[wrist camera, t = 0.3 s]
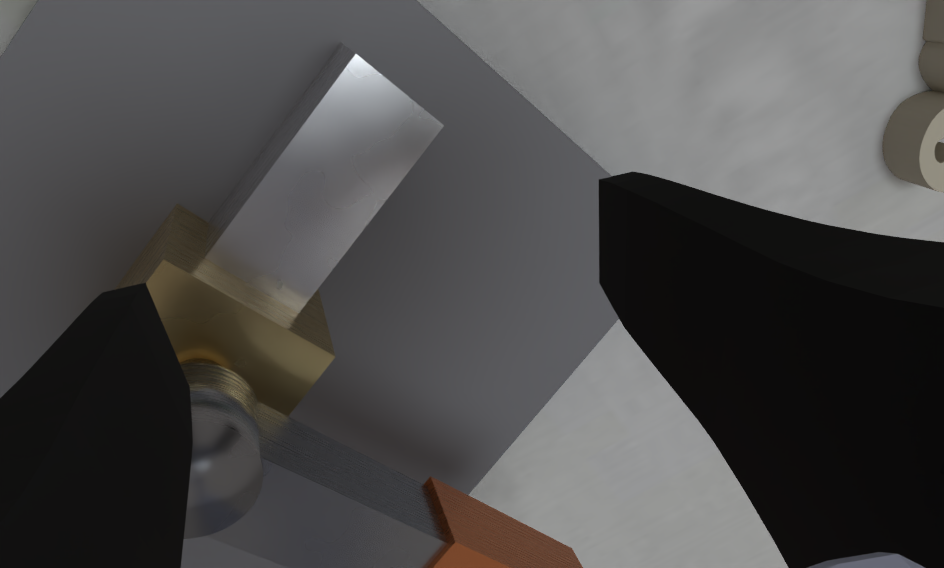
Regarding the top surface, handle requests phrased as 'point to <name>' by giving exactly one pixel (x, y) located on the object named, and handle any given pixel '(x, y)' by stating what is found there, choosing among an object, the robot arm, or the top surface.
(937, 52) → the decorative sign
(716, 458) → the top surface
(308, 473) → the valve lever
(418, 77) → the mounting board
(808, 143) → the top surface
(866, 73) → the top surface
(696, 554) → the top surface
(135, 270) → the ball valve
